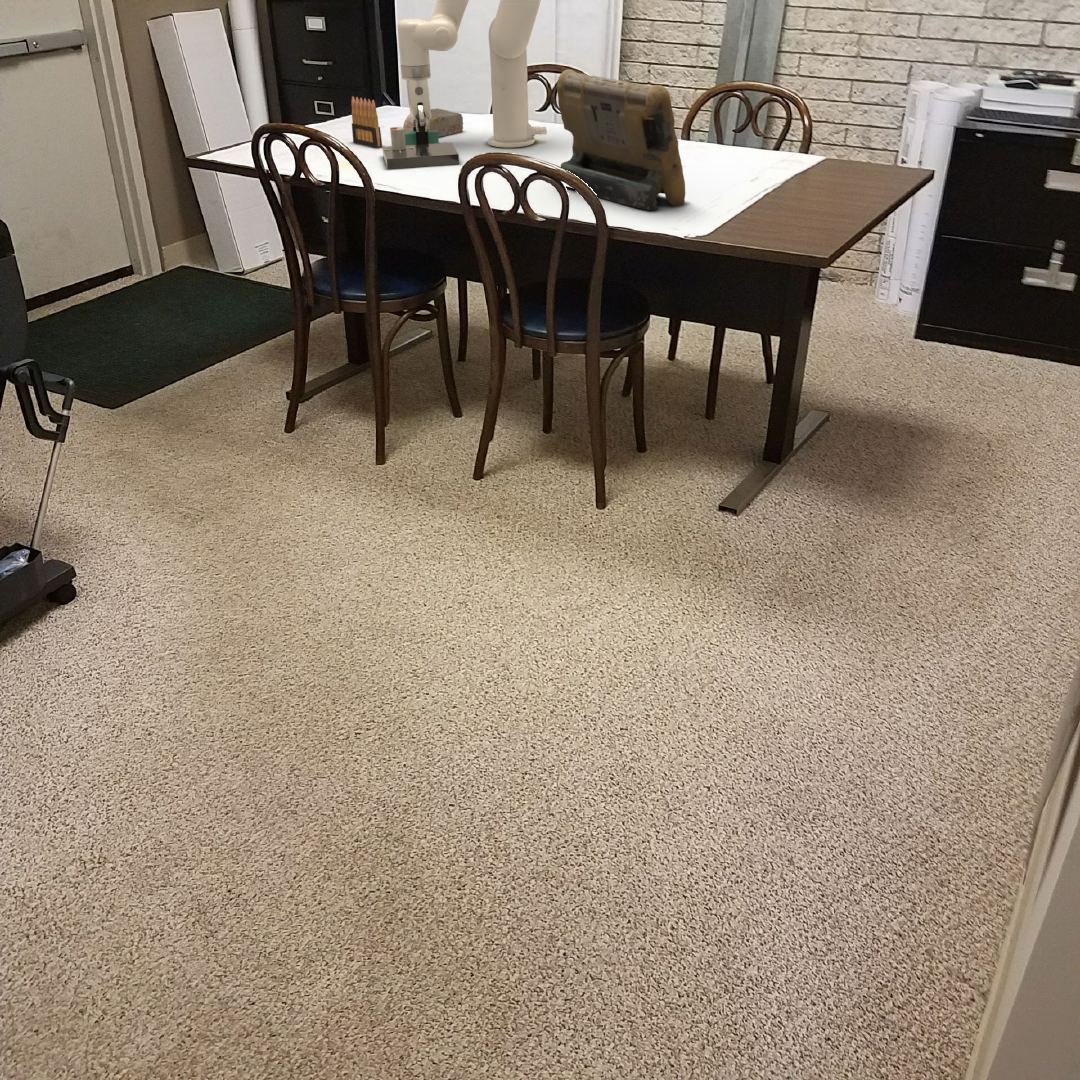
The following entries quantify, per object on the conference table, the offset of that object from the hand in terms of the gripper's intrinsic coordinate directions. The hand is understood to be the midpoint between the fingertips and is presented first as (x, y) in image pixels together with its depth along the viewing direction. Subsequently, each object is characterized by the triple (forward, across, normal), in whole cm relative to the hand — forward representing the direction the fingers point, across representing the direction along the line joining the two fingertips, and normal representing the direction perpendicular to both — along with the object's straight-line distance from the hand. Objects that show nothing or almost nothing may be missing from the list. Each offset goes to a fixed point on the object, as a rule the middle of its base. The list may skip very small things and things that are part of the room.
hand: (421, 143), depth 285 cm
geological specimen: (+1, +16, -5) cm, 17 cm away
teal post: (+1, 0, +2) cm, 2 cm away
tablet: (+1, -63, -38) cm, 74 cm away
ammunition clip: (+1, +7, +14) cm, 16 cm away
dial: (-2, -13, +7) cm, 15 cm away
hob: (+1, -16, +2) cm, 16 cm away
